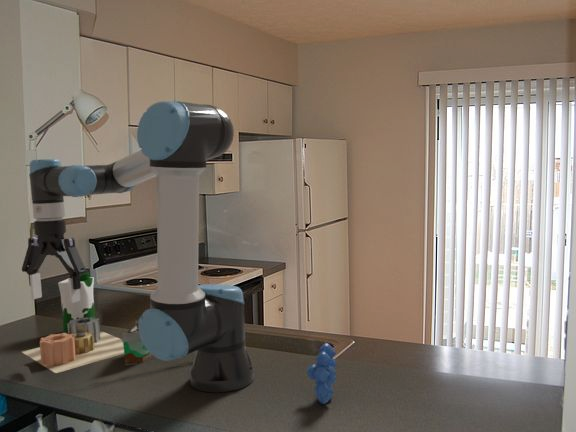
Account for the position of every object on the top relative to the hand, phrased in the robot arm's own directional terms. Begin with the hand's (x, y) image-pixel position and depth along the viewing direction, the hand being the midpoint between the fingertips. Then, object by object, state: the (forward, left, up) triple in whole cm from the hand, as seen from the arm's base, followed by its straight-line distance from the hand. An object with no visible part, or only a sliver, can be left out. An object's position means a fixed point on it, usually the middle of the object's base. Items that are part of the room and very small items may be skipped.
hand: (55, 300), depth 145 cm
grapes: (-66, -30, -18) cm, 75 cm away
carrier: (+3, -7, -18) cm, 19 cm away
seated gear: (+10, -11, -16) cm, 22 cm away
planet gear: (0, 0, -16) cm, 16 cm away
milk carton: (+20, -14, -18) cm, 31 cm away
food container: (-16, -15, -18) cm, 28 cm away
